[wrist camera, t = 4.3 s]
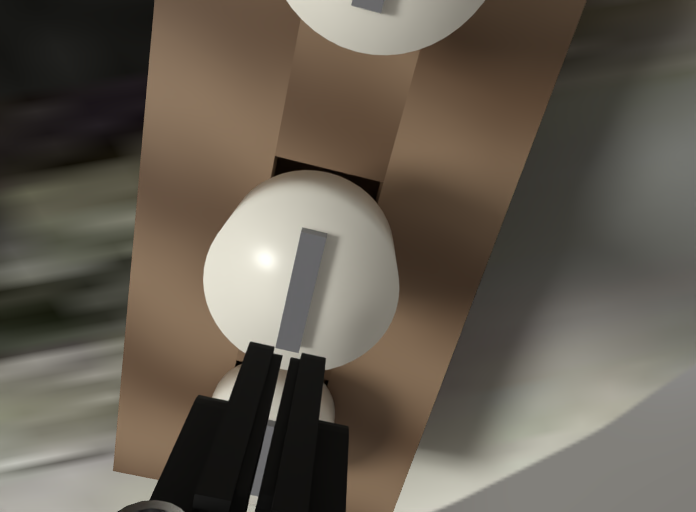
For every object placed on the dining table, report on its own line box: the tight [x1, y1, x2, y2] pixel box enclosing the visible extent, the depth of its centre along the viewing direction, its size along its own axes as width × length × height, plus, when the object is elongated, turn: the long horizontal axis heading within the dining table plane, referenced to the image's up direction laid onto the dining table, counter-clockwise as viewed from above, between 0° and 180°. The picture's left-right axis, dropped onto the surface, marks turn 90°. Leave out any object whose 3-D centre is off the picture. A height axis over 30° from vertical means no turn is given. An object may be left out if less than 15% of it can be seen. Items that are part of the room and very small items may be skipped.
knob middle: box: [203, 170, 399, 370], centre depth 16 cm, size 5×5×7 cm
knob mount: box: [113, 0, 587, 512], centre depth 20 cm, size 26×12×5 cm, turn 166°
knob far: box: [212, 364, 335, 505], centre depth 21 cm, size 5×5×7 cm
